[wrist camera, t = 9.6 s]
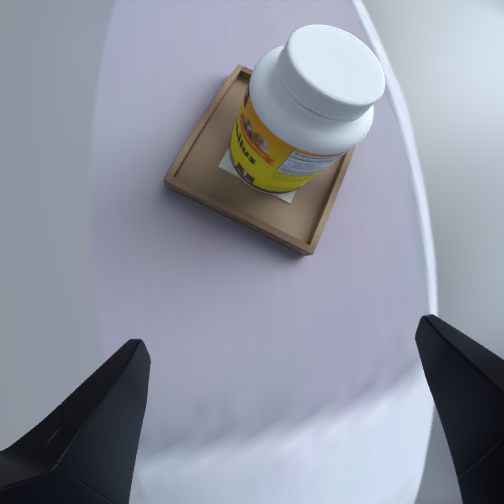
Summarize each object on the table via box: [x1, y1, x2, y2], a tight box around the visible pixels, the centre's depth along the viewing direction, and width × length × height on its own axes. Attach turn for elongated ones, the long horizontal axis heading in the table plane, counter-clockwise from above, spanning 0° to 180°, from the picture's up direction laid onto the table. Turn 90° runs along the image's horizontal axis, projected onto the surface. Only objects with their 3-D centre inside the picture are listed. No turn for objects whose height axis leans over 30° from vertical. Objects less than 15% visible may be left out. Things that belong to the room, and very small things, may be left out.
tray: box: [164, 64, 355, 256], centre depth 19 cm, size 10×10×1 cm
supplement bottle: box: [229, 24, 385, 194], centre depth 14 cm, size 6×6×10 cm
